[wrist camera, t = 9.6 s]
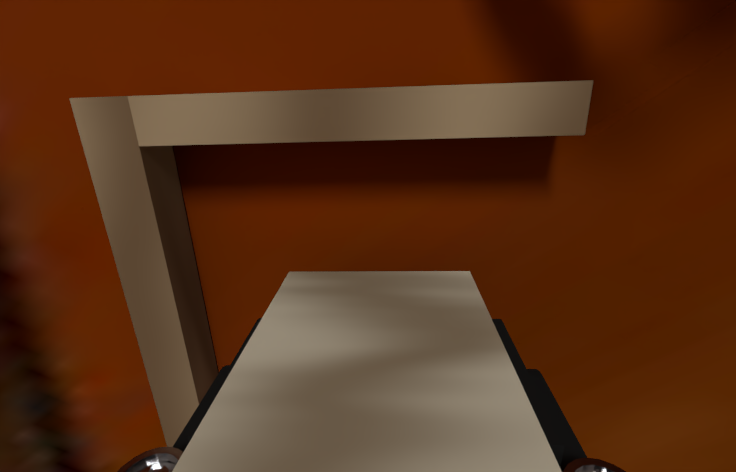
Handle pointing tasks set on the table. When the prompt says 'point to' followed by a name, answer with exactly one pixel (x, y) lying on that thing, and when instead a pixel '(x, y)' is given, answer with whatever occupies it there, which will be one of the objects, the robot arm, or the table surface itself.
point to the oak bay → (244, 126)
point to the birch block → (372, 384)
